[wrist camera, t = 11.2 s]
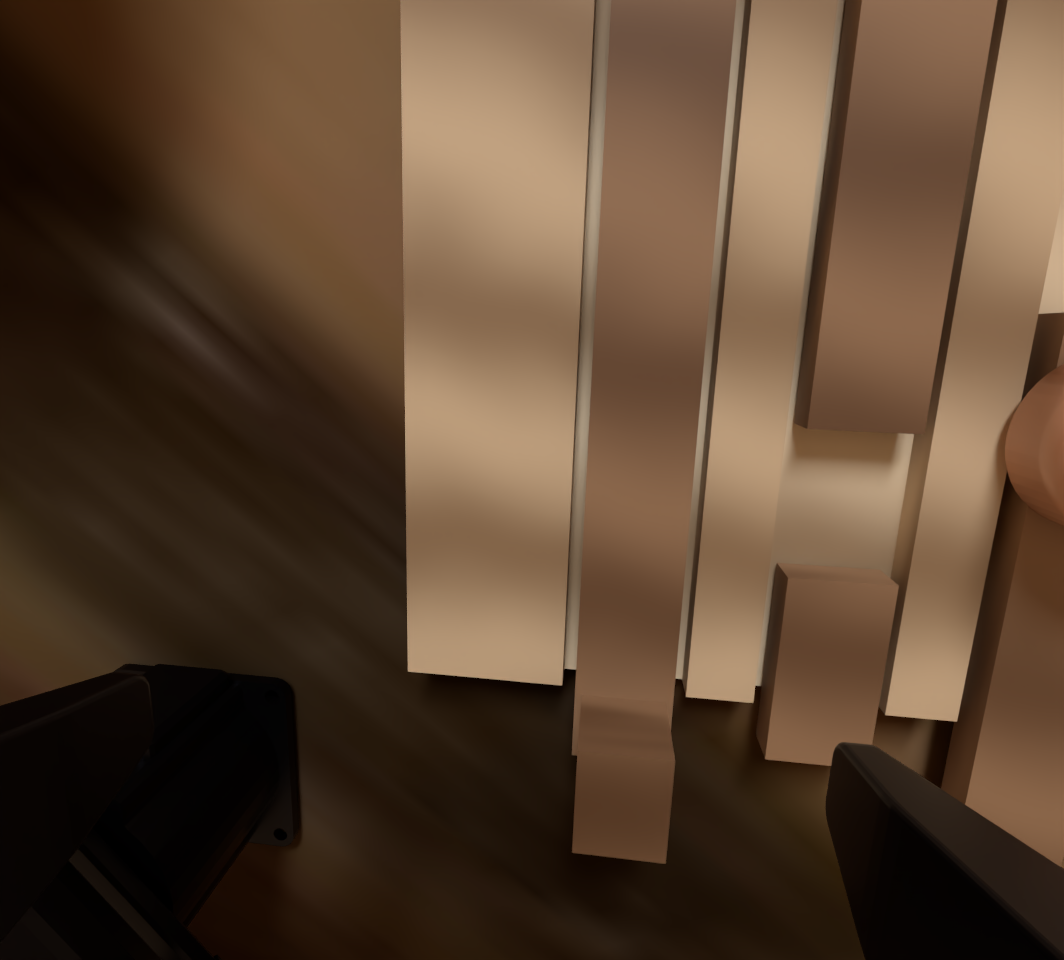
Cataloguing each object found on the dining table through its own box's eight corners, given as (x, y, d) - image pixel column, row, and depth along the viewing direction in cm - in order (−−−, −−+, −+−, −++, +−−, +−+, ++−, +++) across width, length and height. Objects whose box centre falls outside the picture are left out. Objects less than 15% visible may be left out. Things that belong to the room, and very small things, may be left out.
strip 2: (988, 1020, 21) (1071, 1169, 17) (897, 1008, 21) (958, 1151, 17) (1157, 317, 16) (1323, 311, 12) (1035, 313, 16) (1161, 306, 12)
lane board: (1207, 754, 19) (1290, 812, 17) (426, 681, 22) (404, 722, 19) (1459, -85, 14) (1621, -166, 12) (423, -51, 17) (393, -113, 15)
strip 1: (661, 768, 20) (673, 864, 16) (572, 759, 20) (564, 851, 17) (732, -43, 15) (772, -164, 12) (614, -40, 16) (616, -156, 12)
